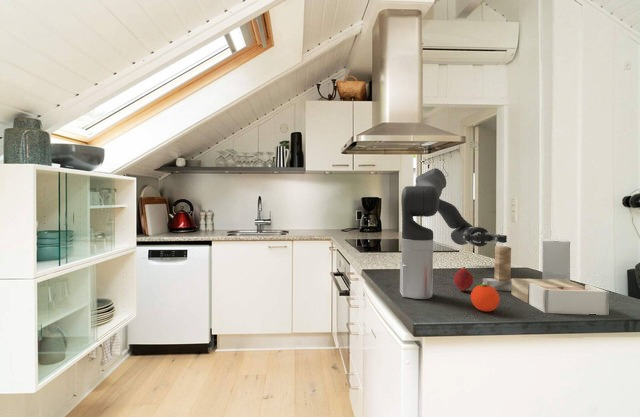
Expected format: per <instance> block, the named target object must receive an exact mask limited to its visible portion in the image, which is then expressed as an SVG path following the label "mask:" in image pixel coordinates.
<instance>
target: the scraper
mask: <svg viewBox="0 0 640 417" xmlns="http://www.w3.org/2000/svg"><path fill="white" fill-rule="evenodd" d="M511 256H512V247H510V246H505V245H502V246H501V245H499V246H498V245H495V246H494V272H493V274H494V278H485V277H482V284H486V285H489V286H491V287H493V288H494V289H495V290H496V291H507V292H512V278H511V273H512V272H511V270H512V269H511V268H512V265H511V264H512V263H511V262H512V257H511Z"/></svg>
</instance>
